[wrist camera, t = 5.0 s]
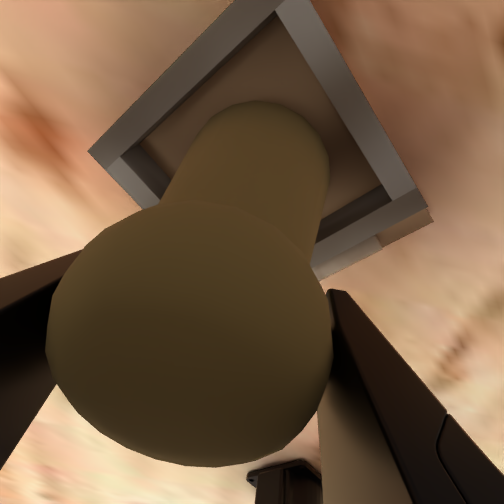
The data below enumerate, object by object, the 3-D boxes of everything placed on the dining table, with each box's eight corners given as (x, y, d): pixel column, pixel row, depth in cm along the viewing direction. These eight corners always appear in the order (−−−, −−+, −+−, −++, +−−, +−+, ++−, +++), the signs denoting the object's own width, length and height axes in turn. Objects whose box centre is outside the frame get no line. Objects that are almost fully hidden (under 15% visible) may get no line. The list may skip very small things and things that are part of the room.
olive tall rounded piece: (308, 75, 12) (306, 177, 3) (344, 222, 15) (402, 515, 6) (164, 130, 14) (-123, 302, 5) (220, 252, 17) (108, 514, 7)
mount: (428, 214, 17) (448, 242, 14) (252, 305, 21) (246, 338, 19) (286, -32, 12) (281, -49, 10) (105, 147, 17) (73, 164, 15)
